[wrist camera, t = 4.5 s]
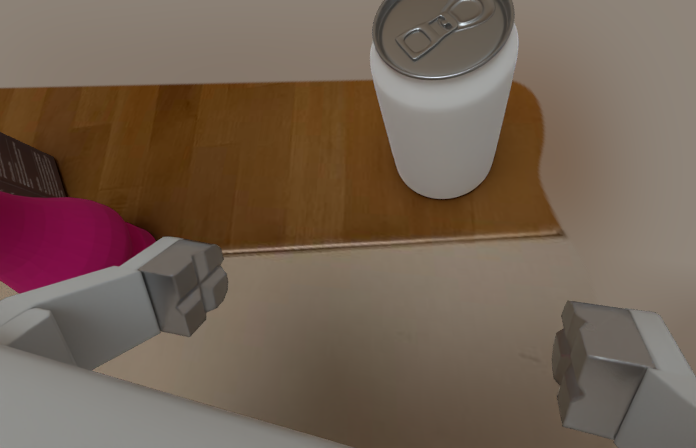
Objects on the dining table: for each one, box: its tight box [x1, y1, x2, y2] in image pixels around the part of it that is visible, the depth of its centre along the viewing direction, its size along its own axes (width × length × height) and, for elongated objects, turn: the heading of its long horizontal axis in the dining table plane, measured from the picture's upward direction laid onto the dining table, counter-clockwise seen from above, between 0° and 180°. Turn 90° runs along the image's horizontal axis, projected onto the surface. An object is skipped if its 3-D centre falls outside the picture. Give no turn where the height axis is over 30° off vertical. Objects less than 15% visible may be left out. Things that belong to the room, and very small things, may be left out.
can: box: [370, 0, 519, 199], centre depth 21 cm, size 6×6×12 cm
